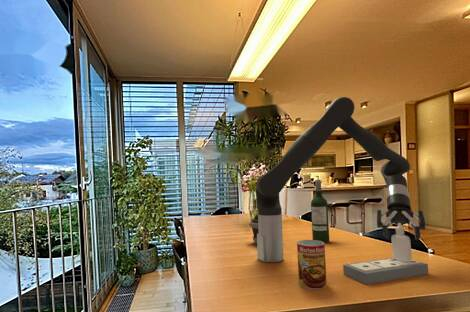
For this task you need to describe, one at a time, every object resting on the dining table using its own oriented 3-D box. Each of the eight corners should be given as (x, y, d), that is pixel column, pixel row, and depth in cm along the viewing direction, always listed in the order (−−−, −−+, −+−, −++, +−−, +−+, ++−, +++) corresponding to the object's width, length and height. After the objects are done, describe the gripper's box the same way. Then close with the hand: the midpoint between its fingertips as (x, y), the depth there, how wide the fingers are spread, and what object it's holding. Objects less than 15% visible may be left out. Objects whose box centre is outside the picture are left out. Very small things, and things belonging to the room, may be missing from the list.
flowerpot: (249, 240, 154) (248, 201, 156) (280, 240, 153) (278, 200, 155) (249, 246, 140) (248, 203, 141) (282, 246, 139) (281, 202, 140)
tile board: (366, 284, 87) (365, 272, 87) (343, 274, 96) (343, 263, 97) (428, 273, 95) (427, 263, 95) (401, 265, 104) (401, 255, 104)
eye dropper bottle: (404, 258, 101) (402, 221, 102) (413, 262, 96) (410, 224, 96) (391, 258, 101) (388, 222, 102) (399, 262, 96) (396, 224, 97)
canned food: (302, 289, 84) (301, 245, 85) (295, 280, 92) (294, 240, 93) (330, 288, 84) (328, 244, 85) (321, 279, 92) (319, 239, 93)
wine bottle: (313, 243, 144) (310, 180, 146) (312, 239, 152) (309, 179, 154) (330, 243, 143) (327, 179, 145) (328, 239, 150) (325, 179, 153)
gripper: (375, 192, 110) (376, 229, 99) (421, 192, 103) (428, 232, 92) (376, 206, 114) (378, 243, 103) (420, 206, 108) (427, 246, 97)
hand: (401, 237), depth 98 cm, fingers open, 8 cm apart
